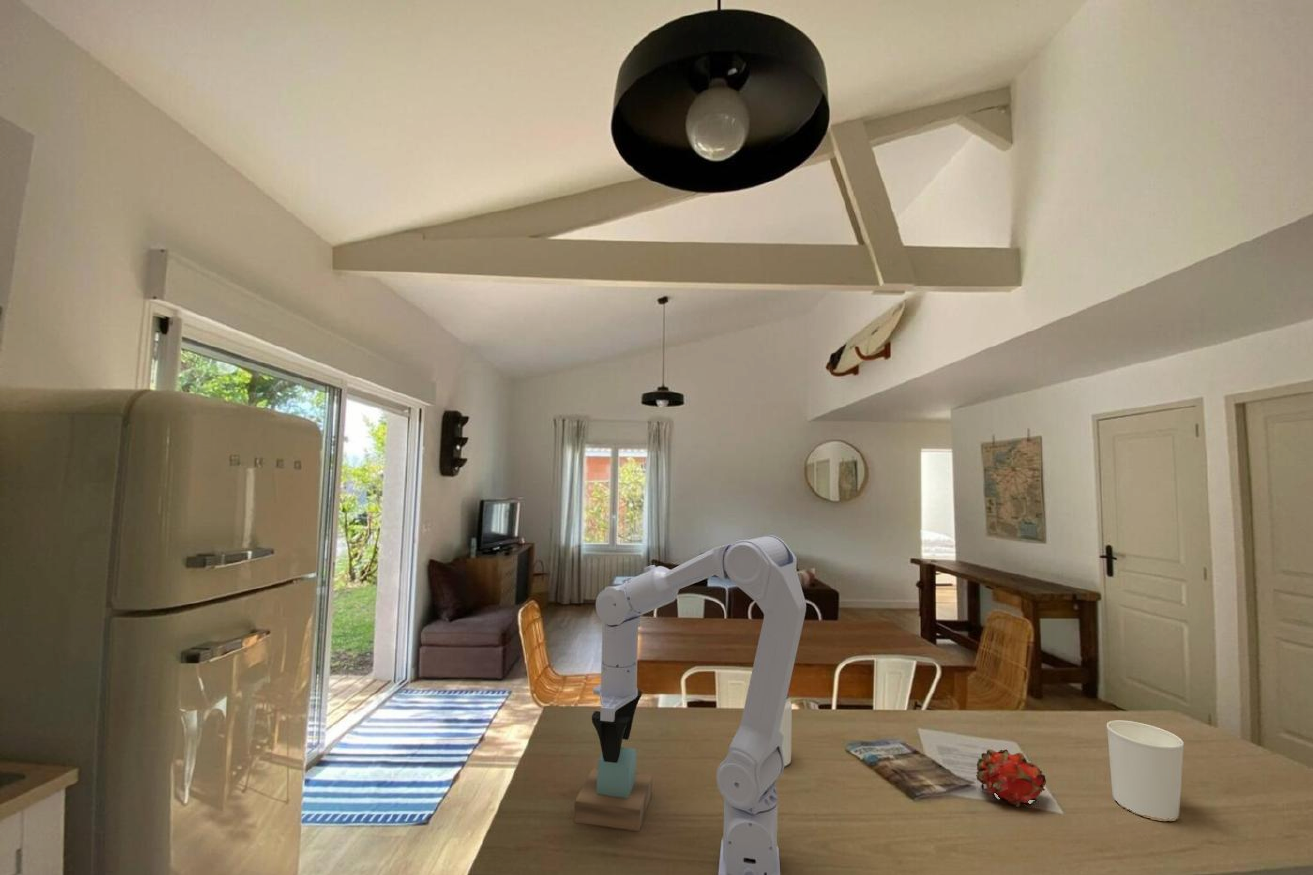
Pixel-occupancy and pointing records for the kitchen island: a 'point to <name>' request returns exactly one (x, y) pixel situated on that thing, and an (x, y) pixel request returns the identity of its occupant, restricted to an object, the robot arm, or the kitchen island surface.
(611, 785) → the teal cube
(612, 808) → the walnut block
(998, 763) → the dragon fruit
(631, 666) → the robot arm
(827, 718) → the kitchen island surface
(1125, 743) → the candle holder
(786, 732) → the can
